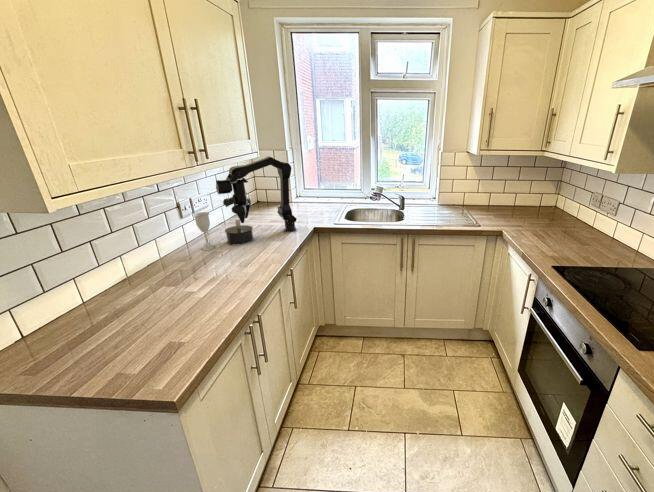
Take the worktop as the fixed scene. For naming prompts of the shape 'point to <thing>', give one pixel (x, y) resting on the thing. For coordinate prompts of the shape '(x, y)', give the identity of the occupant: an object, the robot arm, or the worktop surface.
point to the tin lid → (238, 228)
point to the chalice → (203, 227)
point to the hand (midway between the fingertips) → (244, 220)
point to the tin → (240, 238)
